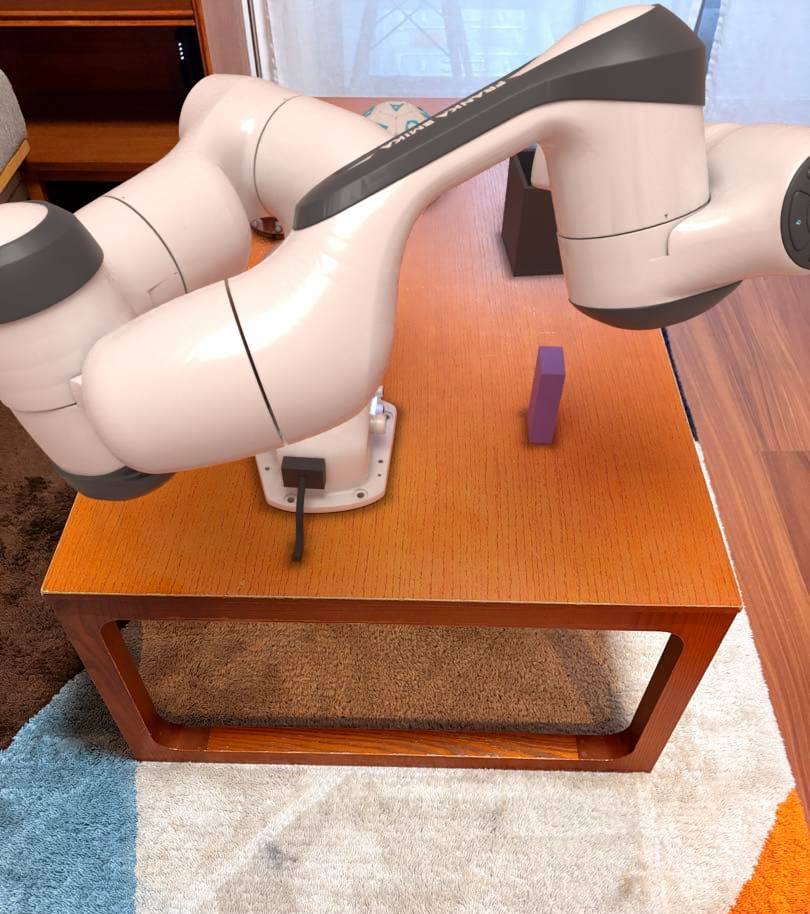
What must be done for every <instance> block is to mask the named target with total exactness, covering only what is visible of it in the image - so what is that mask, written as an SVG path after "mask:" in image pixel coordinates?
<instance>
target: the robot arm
mask: <svg viewBox="0 0 810 914" xmlns="http://www.w3.org/2000/svg"><path fill="white" fill-rule="evenodd" d="M706 55H707V45H706V44H705V43H704V41H703V40H702V39H701V38H700V37H699V35H698V34H697V33H696V32H695V31H694V30H693V29H692V28H691V27H690V26H689V25H688V24H687V23H686V22H685V21H684V20H683V19H681V18H680V17H679V16H678V15H677V14H675V13H674V12H673V11H671V10H670V9H668V8H667V7H665V6H664V5H662V4H660V3H654V4H633V5H632V4H631V5H625V6H621V7H618V8H614V9H611V10H608V11H605V12H602V13H601V14H598V15H595V16H593V17H592V18H590V19H588V20H586V21H584V22H583V23H581V24H579V25H577V26H576V27H574V28H573V29H572V30H570V31H569V32H567V33H566V34H565V35H563V36H562V37H560V38H559V39H558V40H557V41H556V42H554V43H553V44H552V45H550V46H549V47H548V48H547V49H546V50H544V51H543V52H542V53H540V54H539V55H537V56H536V57H534V58H532V59H530V60H529V61H527V62H525V63H524V64H522V65H521V66H519V67H517V68H515V69H514V70H512V71H511V72H509V73H507V74H506V75H504V76H502V77H500V78H498V79H497V80H495V81H493V82H491V83H489V84H487V85H485V86H484V87H482V88H480V89H478V90H477V91H475V92H473V93H471V94H469V95H467V96H466V97H464V98H461V99H460V100H459V101H457V102H455V103H453V104H451V105H450V106H447V107H446V108H444V109H442V110H440V111H439V112H437V113H435V114H433V115H431V116H430V118H428V119H426V120H424V121H422V122H420V123H419V124H417V125H415V126H413V127H411V128H410V129H408V130H406V131H404V132H402V133H401V134H399V135H397V136H394V135H393V134H391V133H390V132H389V131H387V130H386V129H384V128H383V127H381V126H380V125H378V124H377V123H375V122H374V121H372V120H371V119H369V118H367V117H365V116H362V115H363V114H359V113H356V112H353V111H352V110H349V109H346V108H343V107H340V106H338V105H336V104H332V103H330V102H327V101H325V100H322V99H319V98H316V97H314V96H311V95H307V94H305V93H302V92H299V91H297V90H294V89H291V88H289V87H286V86H283V85H280V84H278V83H275V82H273V81H270V80H267V79H265V78H262V77H259V76H253V75H244V74H230V73H214V74H209V75H207V76H205V77H203V78H202V79H200V80H199V81H198V82H197V83H196V84H195V85H194V86H193V87H192V88H191V90H190V91H189V92H188V94H187V96H186V97H185V100H184V102H183V105H182V107H181V112H180V116H179V120H178V121H179V122H178V138H179V141H178V142H177V143H176V145H175V146H174V147H172V149H171V150H169V152H168V153H167V154H166V155H164V157H162V158H161V159H159V160H158V161H157V162H155V163H153V164H152V165H150V166H148V167H147V168H145V169H144V170H142V171H141V172H139V173H137V174H136V175H134V176H133V177H131V178H129V179H127V180H126V181H124V182H122V183H121V184H120V185H117V186H116V187H114V188H112V189H111V190H109V191H107V192H106V193H104V194H102V195H101V196H99V197H97V198H95V199H94V200H93V201H91V202H89V203H87V204H86V205H84V206H83V207H81V208H79V209H78V210H76V211H75V212H74V213H72V212H70V211H69V210H66V209H64V208H62V207H60V206H58V205H56V204H53V203H50V202H48V201H45V200H41V199H32V200H31V199H30V200H22V201H17V202H5V203H1V204H0V401H1V403H2V404H3V405H4V406H5V407H7V408H9V410H10V411H11V412H12V413H13V415H14V417H15V418H16V419H17V421H18V422H19V423H20V424H21V425H22V427H23V428H24V429H25V431H26V432H27V433H28V434H29V436H30V437H31V438H32V439H33V441H34V442H35V443H36V444H37V445H38V446H39V447H40V449H41V450H42V452H44V453H45V454H46V456H48V458H49V459H50V463H51V466H52V467H53V469H54V471H55V472H56V473H57V474H58V475H59V476H60V477H61V478H62V479H63V480H64V481H65V482H66V483H67V485H69V486H70V487H71V488H73V489H74V490H75V491H77V492H78V493H79V494H80V495H82V496H83V497H86V498H87V499H92V500H97V501H105V502H126V501H131V500H135V499H136V500H137V499H139V498H142V497H144V496H147V495H149V494H151V493H153V492H155V491H156V490H158V489H160V488H161V487H163V486H164V485H165V484H167V483H168V482H169V481H170V480H172V479H173V477H175V476H176V474H178V472H184V471H190V470H198V469H202V468H208V467H209V468H210V467H213V466H219V465H222V464H223V465H224V464H227V463H231V462H236V461H240V460H244V459H248V458H251V457H254V458H255V463H256V467H257V471H258V474H259V478H260V483H261V487H262V490H263V491H262V492H263V495H264V499H265V501H266V503H267V504H268V505H269V506H271V507H273V508H276V509H278V510H282V511H286V512H293V513H295V542H294V549H293V554H292V557H291V559H292V561H295V562H299V561H300V560H301V557H302V551H303V547H304V534H305V533H304V531H305V529H304V514H322V513H323V514H324V513H325V514H327V513H333V512H334V513H336V512H344V511H350V510H354V509H355V510H356V509H359V508H362V507H366V506H369V505H371V504H373V503H375V502H377V501H379V500H381V499H382V498H383V497H385V495H386V492H387V485H388V479H389V472H390V466H391V461H392V460H391V459H392V453H393V448H394V447H393V446H394V441H395V435H396V434H395V433H396V426H397V420H398V412H397V411H398V410H397V408H396V406H395V405H394V404H393V403H391V402H388V401H387V400H383V399H381V398H383V397H384V385H383V384H382V383H383V380H384V377H385V375H386V372H387V369H388V368H389V363H390V359H391V356H392V353H393V352H392V351H393V347H394V342H395V337H396V336H395V335H396V325H397V312H398V311H397V310H398V298H399V284H400V279H401V277H400V276H401V270H402V265H403V259H404V254H405V251H406V247H407V244H408V241H409V237H410V235H411V233H412V230H413V228H414V226H415V224H416V222H417V221H418V220H419V218H420V216H421V215H422V214H423V212H424V211H425V210H426V208H427V207H428V206H429V205H430V204H432V203H433V202H434V201H435V200H437V199H438V198H440V197H441V196H443V195H445V194H446V193H448V192H450V191H451V190H453V189H455V188H457V187H459V186H460V185H463V184H464V183H466V182H468V181H470V180H471V179H473V178H475V177H477V176H479V175H481V174H483V173H484V172H486V171H488V170H490V169H491V168H494V167H495V166H497V165H498V164H501V163H502V162H504V161H506V160H508V159H510V157H511V156H513V155H515V154H517V153H519V152H521V151H522V150H524V149H526V148H528V147H530V146H532V145H533V144H535V143H538V145H537V148H536V152H535V156H534V161H533V167H532V173H531V183H532V185H533V186H534V187H537V188H540V189H544V190H549V191H551V195H552V201H553V206H554V212H555V218H556V224H557V230H558V231H557V238H558V244H559V249H560V255H561V261H562V267H563V272H564V274H563V277H564V282H565V286H566V287H565V288H566V291H567V296H568V303H570V304H571V305H572V306H573V307H574V308H575V309H576V310H577V311H579V313H582V314H583V315H584V316H586V317H588V318H590V319H592V320H594V321H596V322H599V323H602V324H605V325H607V326H609V327H612V328H616V329H621V330H627V331H651V330H652V331H653V330H657V329H662V328H666V327H671V326H675V325H678V324H681V323H685V322H686V321H689V320H693V319H694V318H696V317H699V316H701V315H702V314H704V313H706V312H708V311H709V310H712V309H713V308H714V307H715V306H717V305H718V304H719V303H720V302H722V301H723V300H724V299H725V298H727V297H728V296H729V295H731V294H732V293H733V292H734V291H736V289H737V288H738V287H739V286H740V285H741V284H742V283H743V281H744V280H749V279H756V278H764V277H765V278H766V277H803V276H810V126H808V125H802V124H794V123H784V122H783V123H782V122H756V123H750V124H743V123H739V122H733V121H705V117H704V107H705V106H706V86H707V85H706V81H707V80H706V78H707V77H706V74H707V73H706V70H707V69H706V67H707V66H706V65H707V58H706V57H707V56H706ZM263 217H275V218H277V220H278V221H279V223H280V224H281V226H282V228H283V232H284V237H285V239H281V240H280V241H278V242H277V243H275V244H273V245H272V246H271V247H270V248H269V249H268V250H267V251H266V253H265V254H264V256H263V257H262V258H261V260H260V262H259V263H257V264H255V266H253V267H251V268H250V269H248V270H246V268H247V266H248V263H249V259H250V257H251V251H252V243H253V233H252V225H251V224H250V222H252V221H253V220H255V219H258V218H263Z"/></svg>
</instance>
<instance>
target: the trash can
mask: <svg viewBox="0 0 810 914" xmlns="http://www.w3.org/2000/svg"><path fill="white" fill-rule="evenodd" d="M535 152H536V149H524V150H522V151H521V152H519V153H517V154H515V155H513V156H511V157H510V158H508V159H509V160H508V168H507V169H508V170H507V177H506V187H505V198H504V205H503V206H504V207H503V217H502V225H501V234H500V236H501V237H500V238H501V240H502V243H503V246H504V250H505V253H506V256H507V260H508V263H509V267H510V270H511V273H512V276H513V277H527V276H528V277H529V276H544V275H545V276H547V275H548V276H549V275H564V272H563V267H562V261H561V255H560V249H559V244H558V238H557V231H558V230H557V224H556V218H555V212H554V206H553V201H552V195H551V191H549V190H544V189H540V188H537V187H534V186H533V185H532V183H531V173H532V167H533V161H534V156H535Z"/></svg>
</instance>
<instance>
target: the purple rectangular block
mask: <svg viewBox="0 0 810 914" xmlns="http://www.w3.org/2000/svg"><path fill="white" fill-rule="evenodd" d="M535 361H536V362H535V368H534V374H533V378H532V385H531V390H530V391H531V392H530V396H529V403H528V409H527V413H526V414H527V415H526V416H527V417H526V418H527V430H528V443H529V444H549V445H551V444H552V443H553V439H554V433H555V429H556V425H557V420H558V416H559V409H560V404H561V400H562V394H563V392H564V391H563V390H564V386H565V381H566V376H567V374H566V373H567V372H566V364H565V354H564V347H563V346H553V345H551V346H549V345H538V348H537V355H536V360H535Z"/></svg>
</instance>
